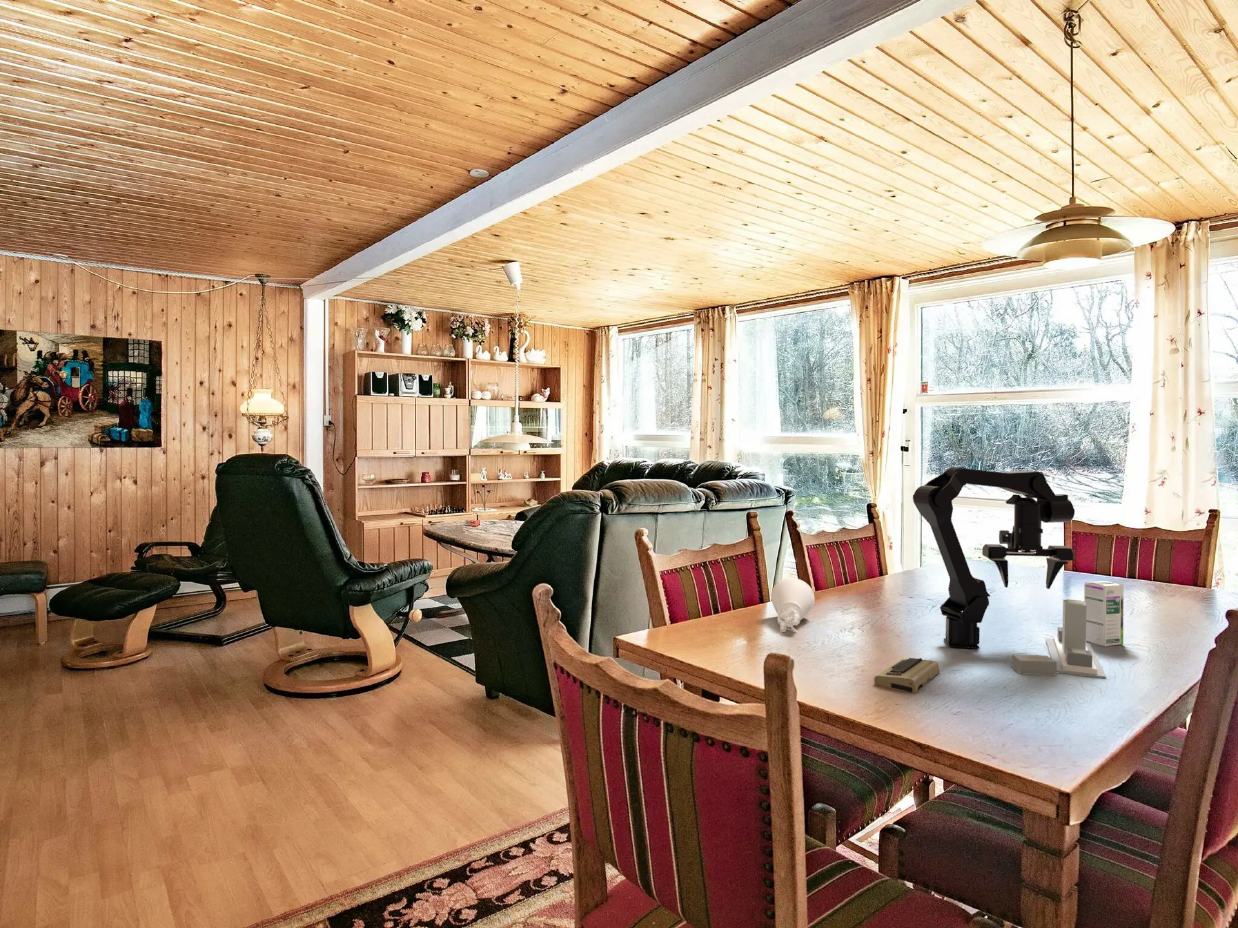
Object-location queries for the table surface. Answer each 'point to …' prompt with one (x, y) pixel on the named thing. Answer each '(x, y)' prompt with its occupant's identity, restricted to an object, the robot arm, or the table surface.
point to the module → (1074, 625)
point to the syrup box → (1104, 612)
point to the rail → (1062, 666)
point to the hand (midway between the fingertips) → (1026, 587)
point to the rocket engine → (792, 602)
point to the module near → (1078, 657)
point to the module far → (1059, 634)
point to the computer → (908, 674)
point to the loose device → (1034, 664)
